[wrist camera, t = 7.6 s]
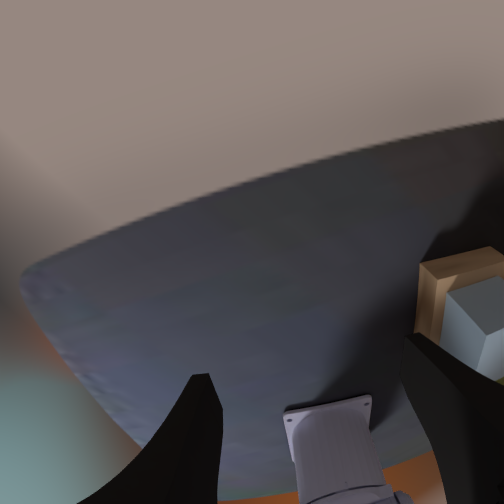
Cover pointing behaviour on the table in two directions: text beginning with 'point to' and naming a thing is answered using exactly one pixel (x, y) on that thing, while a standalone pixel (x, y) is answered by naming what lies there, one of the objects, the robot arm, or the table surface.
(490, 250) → the oak block
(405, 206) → the table surface
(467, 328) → the grey cube
